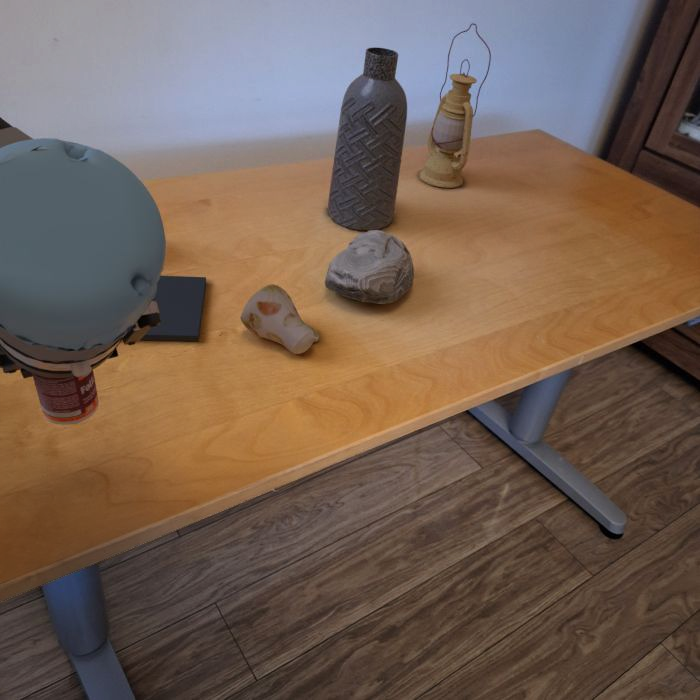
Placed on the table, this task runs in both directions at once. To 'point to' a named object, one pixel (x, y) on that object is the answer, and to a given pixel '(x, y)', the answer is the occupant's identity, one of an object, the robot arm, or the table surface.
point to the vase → (369, 145)
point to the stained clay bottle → (278, 319)
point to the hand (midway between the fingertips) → (57, 355)
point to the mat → (178, 309)
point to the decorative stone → (372, 269)
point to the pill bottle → (67, 398)
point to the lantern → (451, 131)
